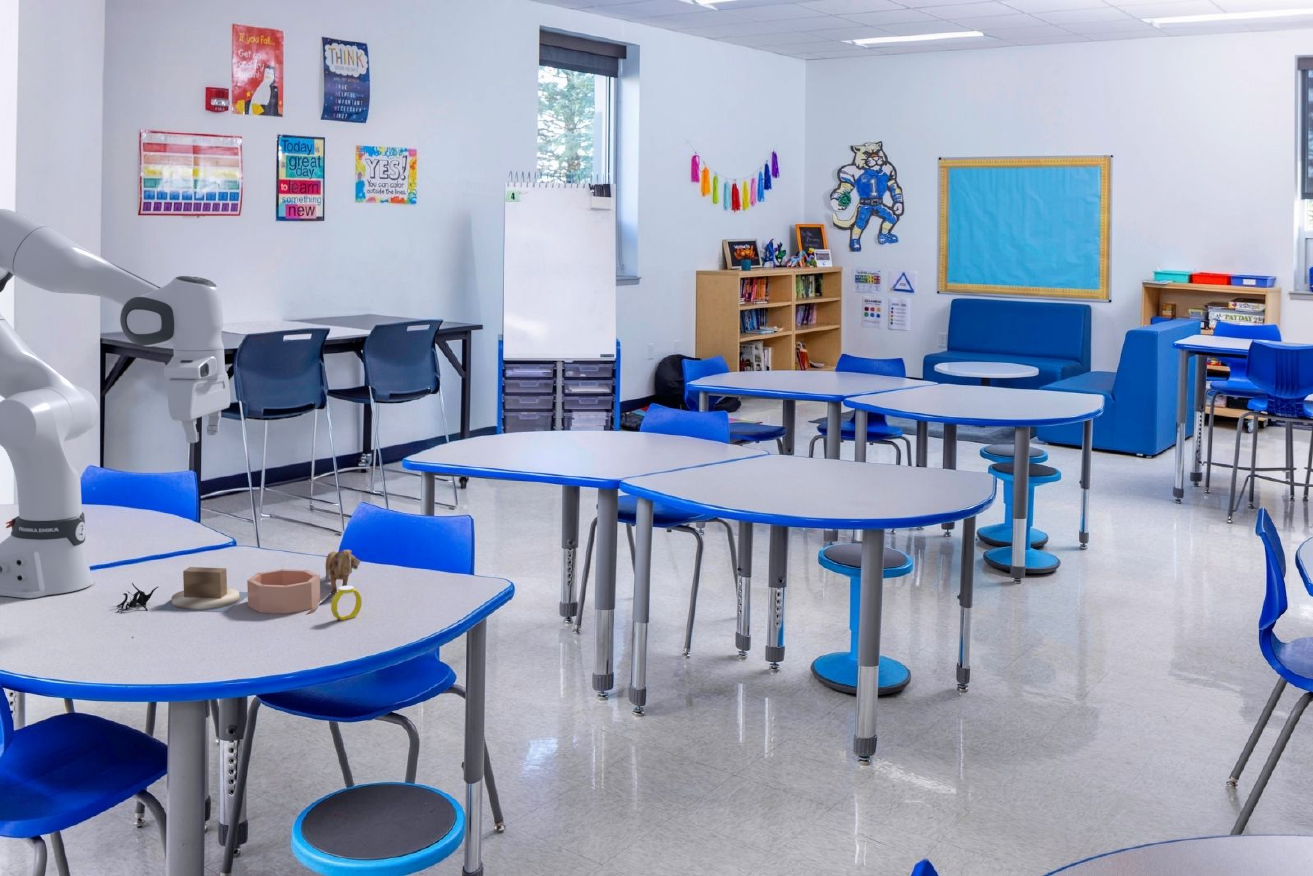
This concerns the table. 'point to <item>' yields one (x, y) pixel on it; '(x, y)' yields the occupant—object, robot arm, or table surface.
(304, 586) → the octagonal planter
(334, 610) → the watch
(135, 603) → the creature
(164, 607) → the mat
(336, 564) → the lion figurine
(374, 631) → the table surface
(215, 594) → the lid
